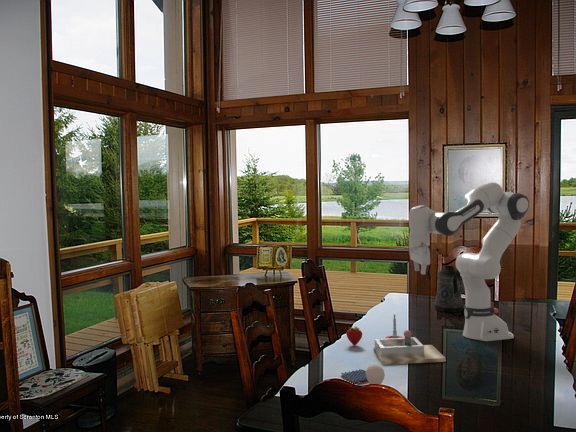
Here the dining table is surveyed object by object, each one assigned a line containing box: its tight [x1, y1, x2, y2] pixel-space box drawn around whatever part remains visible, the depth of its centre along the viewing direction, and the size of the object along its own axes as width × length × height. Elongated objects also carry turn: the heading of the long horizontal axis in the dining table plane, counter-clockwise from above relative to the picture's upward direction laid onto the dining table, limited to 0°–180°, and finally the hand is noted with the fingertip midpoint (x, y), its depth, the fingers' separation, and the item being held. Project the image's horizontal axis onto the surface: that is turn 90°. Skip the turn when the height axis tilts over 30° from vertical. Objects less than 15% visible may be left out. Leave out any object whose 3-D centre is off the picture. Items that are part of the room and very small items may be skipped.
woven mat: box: [340, 368, 369, 385], centre depth 194 cm, size 10×11×2 cm
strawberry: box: [345, 326, 363, 346], centre depth 235 cm, size 6×8×10 cm
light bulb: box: [365, 364, 386, 385], centre depth 177 cm, size 7×7×11 cm
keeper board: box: [373, 329, 447, 366], centre depth 218 cm, size 26×18×11 cm
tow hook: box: [384, 314, 404, 339], centre depth 242 cm, size 8×13×9 cm
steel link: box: [374, 336, 424, 357], centre depth 220 cm, size 18×13×4 cm
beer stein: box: [433, 265, 465, 313], centre depth 297 cm, size 16×19×25 cm
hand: (420, 272), depth 231 cm, fingers open, 8 cm apart
